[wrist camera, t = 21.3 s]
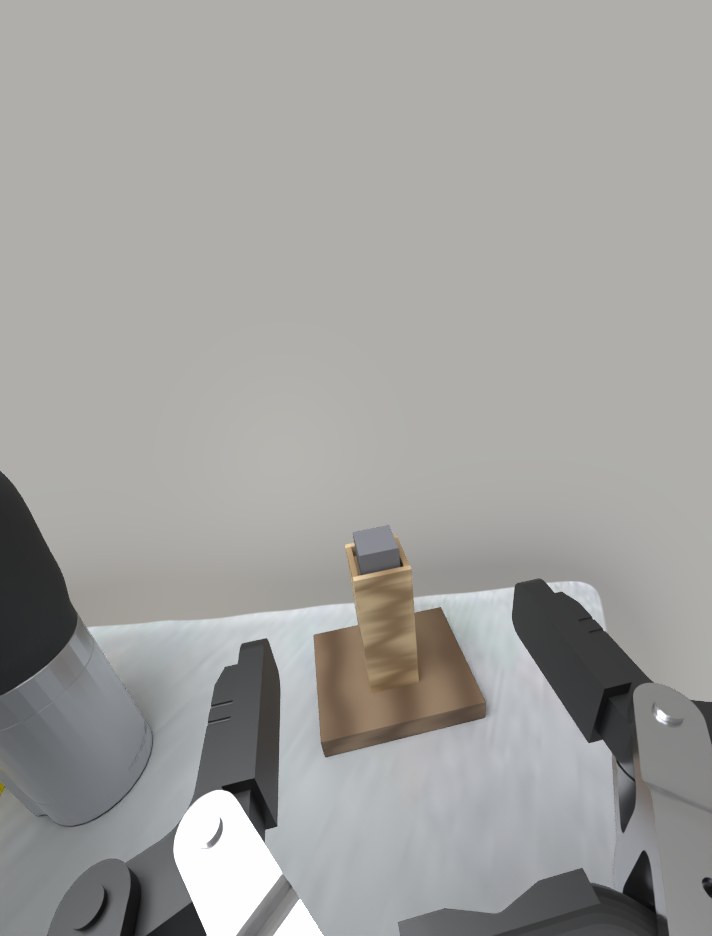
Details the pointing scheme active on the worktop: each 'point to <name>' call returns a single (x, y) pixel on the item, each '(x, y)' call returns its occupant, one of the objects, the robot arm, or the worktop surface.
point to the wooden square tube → (386, 622)
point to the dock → (399, 709)
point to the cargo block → (376, 550)
